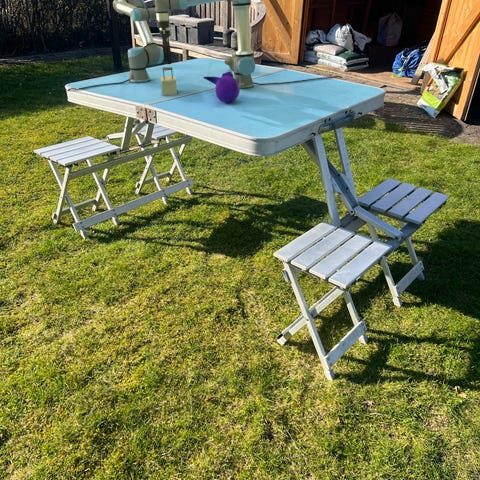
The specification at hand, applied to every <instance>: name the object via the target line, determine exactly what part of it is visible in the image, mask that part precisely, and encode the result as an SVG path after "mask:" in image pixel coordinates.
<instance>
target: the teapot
mask: <svg viewBox="0 0 480 480" xmlns="http://www.w3.org/2000/svg"><path fill="white" fill-rule="evenodd" d="M234 52H237V50H234V51H233V53H232V54H231V57H230V56H227V57H226V58H225V59H224V62H223V63H224V64H225V65H226V66H228V68H229V69H230V71H233V72H234V57H233V56H234Z"/></svg>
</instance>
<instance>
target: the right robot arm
mask: <svg viewBox="0 0 480 480" xmlns="http://www.w3.org/2000/svg"><path fill="white" fill-rule="evenodd" d="M223 1H225V2H228V3H229V2H231V5H232V8H233V10H234V13H235V14H234V15H235V28H236V41H237V43H236V44H237V50H236V52H234V51H233V53H234V56H233V57H234V71H233V78H234V79H236V81H237V82H238V84H239V89H240V90H241V89H250V88H253V87H254V85H258V86H266V85H267V86H268V85H284V84H294V83H302V82H309V81H315V80H324V79H325V80H327V79H335V78H340V79H343V77H342V76H340V75H334V76H325V77H316V78H307V79H301V80H294V81H284V82H283V81H282V82H265V83H264V82H263V83H259V82H254V81H253V78H252V74H253V73H254V72H255V69H256V62H255V55H254V54H255V52H254V51H253V50H252V44H251V43H252V42H251V41H252V40H251V25H250V24H251V22H250V21H251V20H250V8H251V6H252V0H154V8H156V19H157V20H156V26H157V29H159V28H162V31H161V35H162V37H161V40H162V39H163V43H162V46H161V48H162V49H163V52H164V53H163V54H164V57H163V60H164V59H169V57H168V46H167V45H168V43H167V31H166V28H169V27H170V28H171V26H169V25H170V24H169V23H170V13H169V14H168V10H169V11H171V10H172V11H174V10H187V9H188V7H193V6H200V5H205V4H211V3H217V2H223ZM168 16H169V17H168ZM168 20H169V21H168Z"/></svg>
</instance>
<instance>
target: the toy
mask: <svg viewBox="0 0 480 480" xmlns="http://www.w3.org/2000/svg"><path fill="white" fill-rule="evenodd" d="M233 77H234V73H233V72H231V71H227V72H224V73H222V74H221V76H203V79H205V80H206V81H208V82H210V83H212V84H214V85H215V88H214V89H215V90H214V91H215V95H216V99H218V100H219V101H220V102H221V103H226V104H228V103H230V104H231V103H233V102H234V101H236V99H237V98H238V97H239V95H240V92H241V89H240V88H239V84H238V82H237V81H236V79H234V78H233Z"/></svg>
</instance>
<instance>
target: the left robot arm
mask: <svg viewBox="0 0 480 480" xmlns="http://www.w3.org/2000/svg"><path fill="white" fill-rule="evenodd" d="M112 7H113V9H114V11H115V12H116V13H119V14H120V15H126V16H128V17H130V19H131V20H132V21H133V22H134V24H135V27H136V29H137V30H136V31H137V33H138V35H139V37H140V41H141V43H142V46H135V47H131V48H129V49H127V57H128V66H129V76H128V79H126V80H123V81H120V82H110V83H101V84H95V85H94V84H93V85H89V86H83V87H79V89H76V88H74V87H69V88H68V89H67V92H69V91H72V90H73V91H78V90H84V89H90V88H95V87H103V86H110V85H111V86H112V85H120V84H125V83H127V82H129V83H133V84H141V83H148V82H150V76H149V74H148V71H147V67H146V66H151V65H159V64H162V63H163V61H164V62H166V63H167V65H172V57H171V53H172V50H171V45H170V38H169V37H171V24H170V19H169V20H168V21H169V26H170V27H169V28H166V31H167V43H168V45H167V46H168V57H169V59H164V51H163V48H162V46H159V45H158V43H157V42H155V40H154V38H153V37H154V36H153V34H152V32H151V29H150V27H149V24H148V21H158V20H157V19H156V8H155V7H149V8H147V7H146V2H145V0H113V2H112ZM168 14H169V15H170V10H168ZM168 17H169V18H170V16H168ZM158 30H159V37H161V41H162V44H163V39H162V35H161V31H162V28H158Z"/></svg>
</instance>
